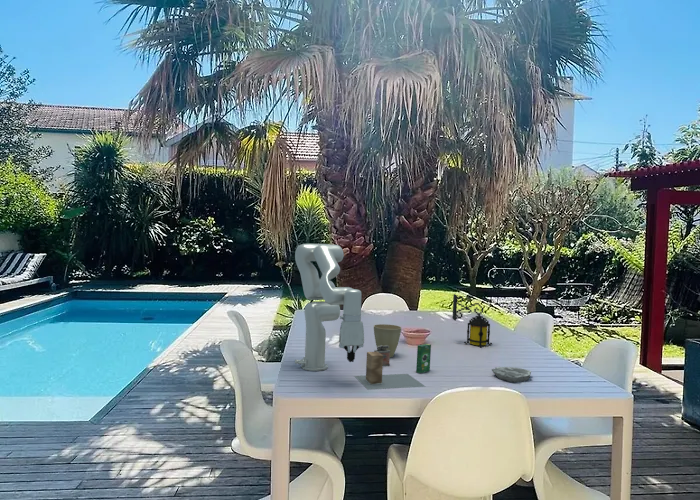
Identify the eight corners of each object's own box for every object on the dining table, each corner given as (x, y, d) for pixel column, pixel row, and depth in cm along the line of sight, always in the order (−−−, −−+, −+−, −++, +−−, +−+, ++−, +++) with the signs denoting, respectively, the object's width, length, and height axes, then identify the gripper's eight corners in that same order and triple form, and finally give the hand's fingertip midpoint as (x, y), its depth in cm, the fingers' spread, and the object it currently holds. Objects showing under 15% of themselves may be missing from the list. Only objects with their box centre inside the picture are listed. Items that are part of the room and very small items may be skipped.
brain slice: (501, 370, 255) (501, 364, 255) (535, 377, 244) (536, 371, 244) (484, 378, 240) (484, 371, 240) (520, 386, 229) (520, 379, 229)
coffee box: (425, 369, 250) (426, 342, 249) (430, 371, 248) (431, 343, 247) (415, 372, 244) (416, 345, 243) (420, 373, 242) (421, 346, 241)
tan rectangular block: (370, 384, 219) (371, 355, 219) (365, 379, 226) (366, 352, 225) (381, 383, 220) (383, 355, 220) (376, 379, 227) (377, 351, 227)
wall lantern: (495, 348, 304) (497, 298, 303) (454, 347, 304) (457, 296, 303) (488, 342, 320) (490, 294, 319) (449, 341, 321) (452, 293, 320)
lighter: (375, 366, 252) (375, 346, 252) (372, 364, 255) (373, 344, 255) (390, 366, 254) (391, 346, 254) (388, 364, 258) (389, 344, 257)
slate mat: (367, 391, 212) (367, 389, 212) (353, 377, 231) (353, 376, 231) (425, 388, 219) (425, 386, 219) (407, 375, 238) (407, 373, 238)
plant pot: (398, 360, 266) (400, 330, 265) (370, 358, 269) (371, 327, 268) (401, 354, 280) (402, 325, 280) (374, 351, 283) (375, 323, 283)
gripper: (337, 320, 213) (336, 364, 214) (371, 319, 218) (370, 362, 218) (332, 317, 221) (331, 359, 221) (366, 316, 225) (364, 358, 225)
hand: (350, 361), depth 219 cm, fingers closed
